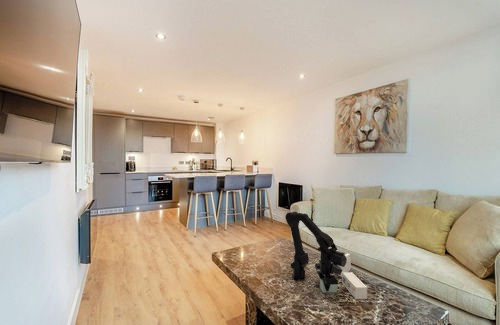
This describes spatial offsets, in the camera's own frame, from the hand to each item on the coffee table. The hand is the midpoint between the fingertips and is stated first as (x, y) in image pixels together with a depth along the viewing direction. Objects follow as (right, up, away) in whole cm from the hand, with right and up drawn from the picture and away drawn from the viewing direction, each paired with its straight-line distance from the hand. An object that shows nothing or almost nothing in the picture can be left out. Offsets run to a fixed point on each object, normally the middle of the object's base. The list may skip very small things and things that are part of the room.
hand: (325, 288), depth 125 cm
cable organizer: (+15, -1, +22) cm, 26 cm away
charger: (+3, -1, 0) cm, 3 cm away
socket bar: (+16, -1, +1) cm, 16 cm away
